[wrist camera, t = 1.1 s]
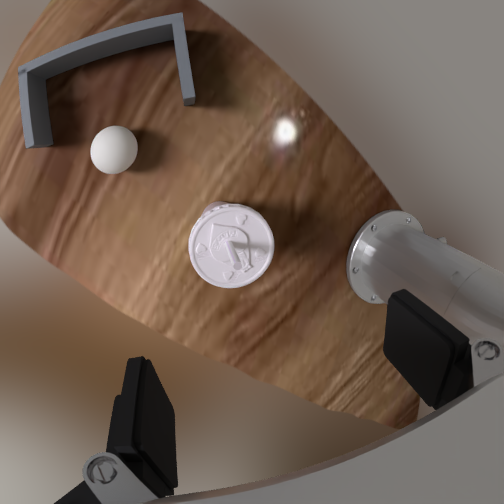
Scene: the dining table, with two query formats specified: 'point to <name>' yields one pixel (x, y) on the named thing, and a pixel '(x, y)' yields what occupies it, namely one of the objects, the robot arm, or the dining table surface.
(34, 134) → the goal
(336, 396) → the dining table surface
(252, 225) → the smoothie
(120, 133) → the ball
